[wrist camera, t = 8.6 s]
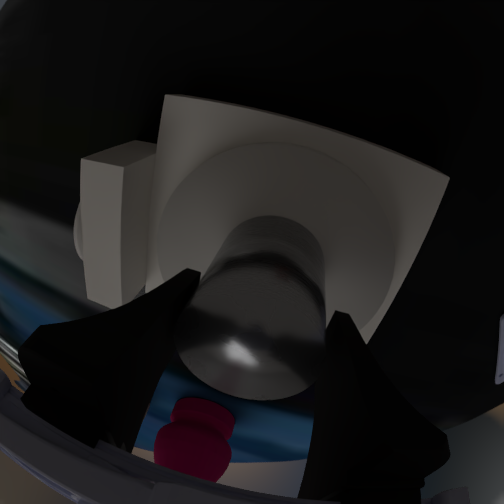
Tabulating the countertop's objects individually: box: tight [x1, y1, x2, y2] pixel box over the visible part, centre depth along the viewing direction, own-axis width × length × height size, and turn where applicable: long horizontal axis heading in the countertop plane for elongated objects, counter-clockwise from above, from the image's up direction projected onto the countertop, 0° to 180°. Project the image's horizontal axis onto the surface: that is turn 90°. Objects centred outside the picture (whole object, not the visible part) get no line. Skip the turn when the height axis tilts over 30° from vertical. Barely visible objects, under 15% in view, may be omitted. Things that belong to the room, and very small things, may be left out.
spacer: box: [174, 215, 326, 400], centre depth 12 cm, size 5×5×6 cm
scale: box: [74, 94, 450, 344], centre depth 15 cm, size 17×14×5 cm
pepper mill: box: [154, 397, 235, 483], centre depth 19 cm, size 7×7×20 cm
